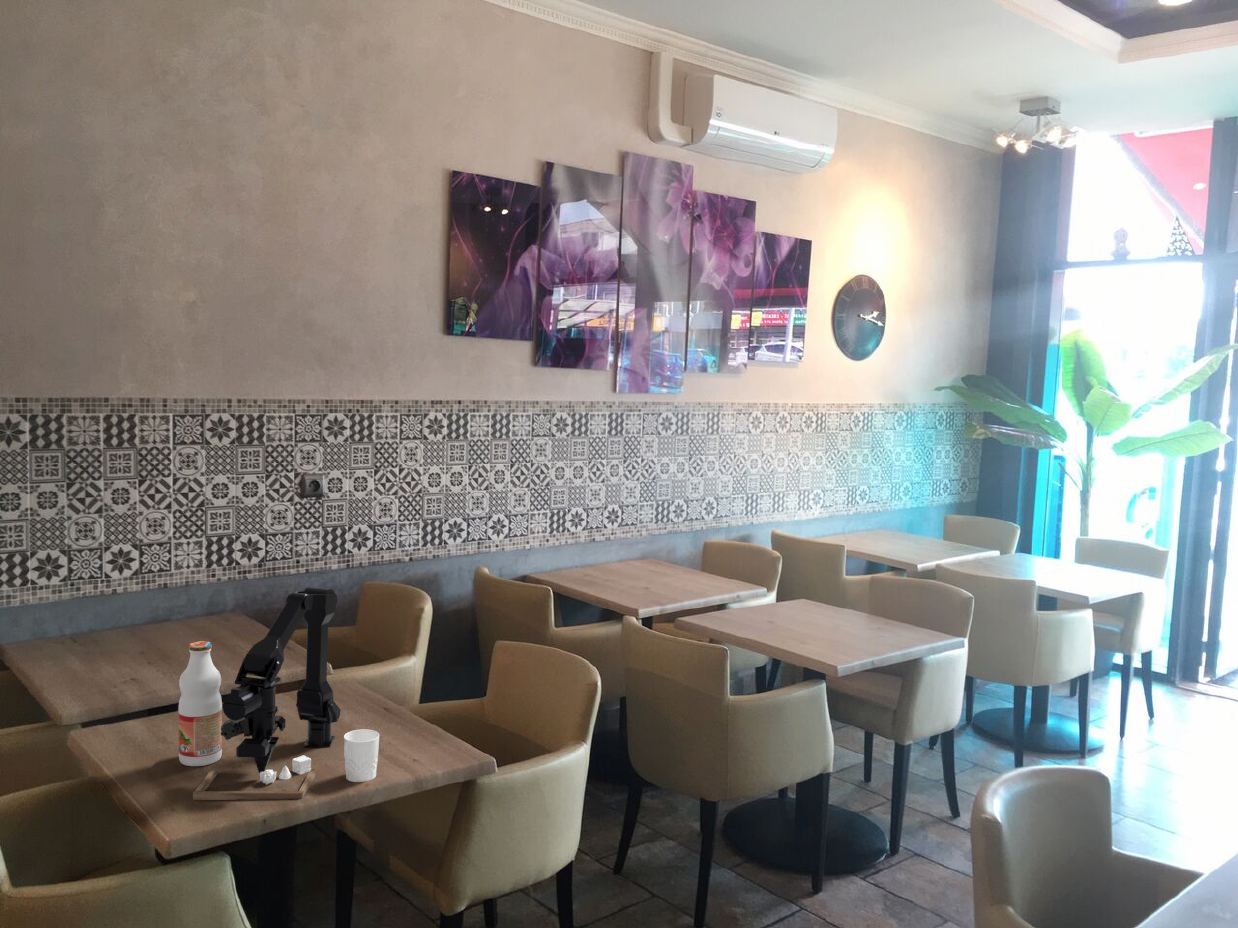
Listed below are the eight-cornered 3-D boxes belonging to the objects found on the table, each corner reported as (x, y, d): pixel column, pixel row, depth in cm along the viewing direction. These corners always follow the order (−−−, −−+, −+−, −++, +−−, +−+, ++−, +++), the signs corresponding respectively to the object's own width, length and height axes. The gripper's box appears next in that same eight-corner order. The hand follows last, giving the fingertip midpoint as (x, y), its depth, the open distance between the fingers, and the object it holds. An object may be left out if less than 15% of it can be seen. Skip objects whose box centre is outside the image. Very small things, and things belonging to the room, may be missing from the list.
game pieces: (303, 767, 235) (303, 754, 234) (311, 771, 233) (311, 758, 232) (257, 783, 225) (257, 769, 225) (265, 787, 223) (265, 774, 223)
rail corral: (212, 774, 228) (212, 768, 228) (315, 775, 230) (315, 768, 230) (192, 799, 215) (192, 792, 215) (302, 799, 217) (302, 793, 217)
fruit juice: (215, 767, 233) (215, 649, 230) (173, 767, 232) (172, 649, 229) (226, 751, 242) (226, 638, 239) (186, 751, 241) (185, 637, 238)
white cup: (381, 770, 234) (382, 729, 233) (374, 785, 226) (375, 742, 225) (347, 770, 234) (348, 728, 233) (339, 784, 226) (340, 741, 225)
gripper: (237, 691, 234) (237, 755, 236) (211, 720, 216) (211, 789, 217) (286, 692, 235) (285, 756, 237) (264, 720, 217) (264, 789, 218)
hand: (261, 772), depth 227 cm, fingers closed
